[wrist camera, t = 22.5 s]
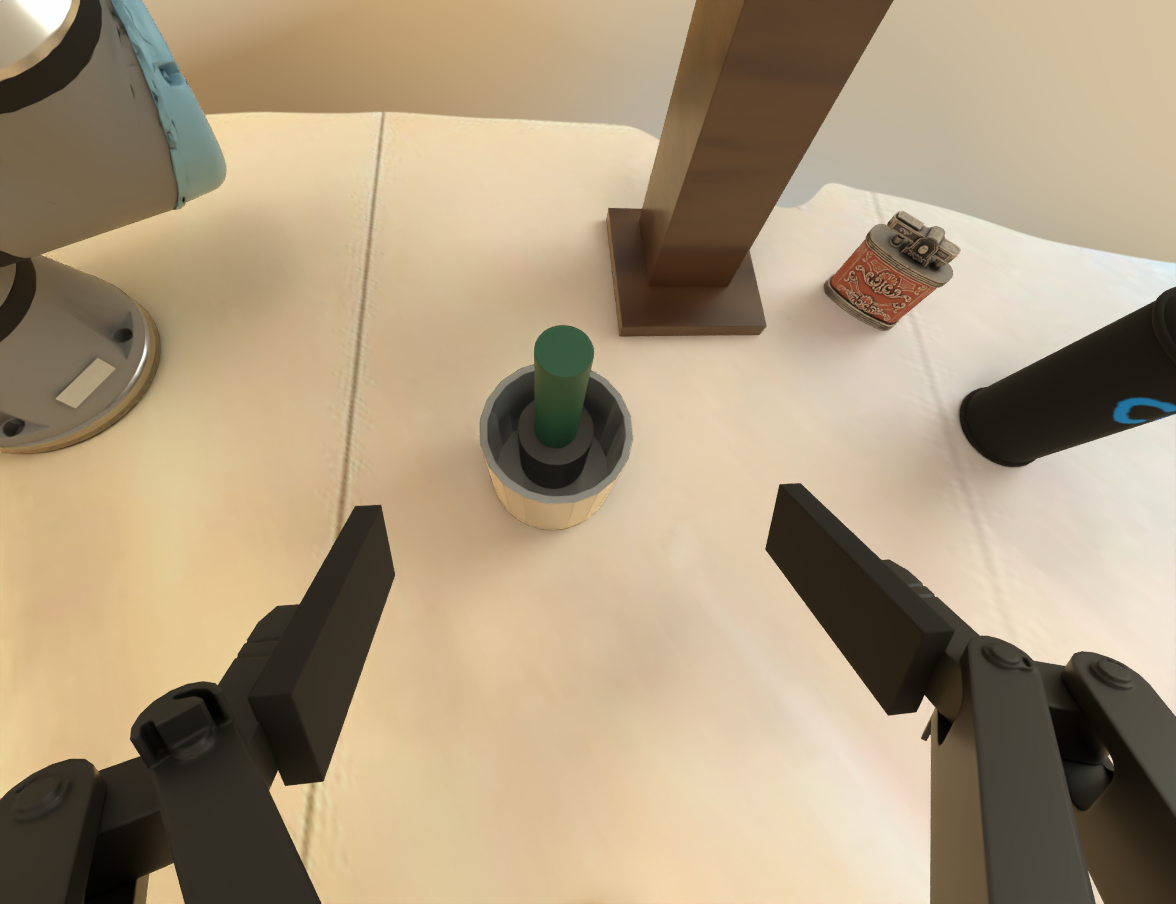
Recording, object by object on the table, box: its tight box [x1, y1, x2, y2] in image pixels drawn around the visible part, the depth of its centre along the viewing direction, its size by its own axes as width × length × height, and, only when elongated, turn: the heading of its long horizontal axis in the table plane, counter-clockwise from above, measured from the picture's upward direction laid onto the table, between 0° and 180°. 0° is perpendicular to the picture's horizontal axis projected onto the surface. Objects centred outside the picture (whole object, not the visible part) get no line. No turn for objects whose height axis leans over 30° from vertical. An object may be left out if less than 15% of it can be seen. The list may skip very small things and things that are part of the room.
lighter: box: [824, 211, 961, 331], centre depth 45 cm, size 8×3×10 cm, turn 53°
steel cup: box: [480, 365, 633, 530], centre depth 36 cm, size 10×10×10 cm
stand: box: [606, 0, 893, 336], centre depth 34 cm, size 15×14×31 cm
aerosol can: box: [960, 287, 1176, 467], centre depth 37 cm, size 8×8×20 cm
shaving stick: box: [517, 325, 594, 489], centre depth 32 cm, size 17×5×5 cm
